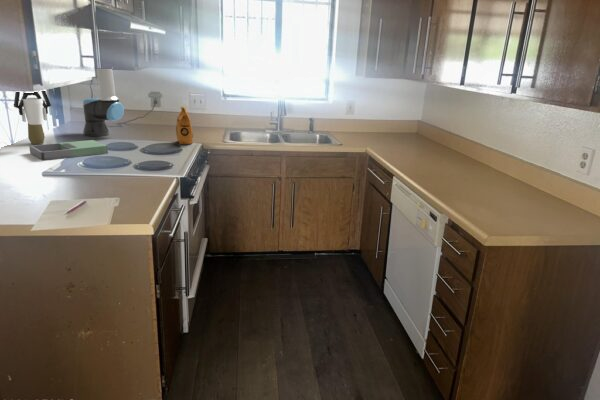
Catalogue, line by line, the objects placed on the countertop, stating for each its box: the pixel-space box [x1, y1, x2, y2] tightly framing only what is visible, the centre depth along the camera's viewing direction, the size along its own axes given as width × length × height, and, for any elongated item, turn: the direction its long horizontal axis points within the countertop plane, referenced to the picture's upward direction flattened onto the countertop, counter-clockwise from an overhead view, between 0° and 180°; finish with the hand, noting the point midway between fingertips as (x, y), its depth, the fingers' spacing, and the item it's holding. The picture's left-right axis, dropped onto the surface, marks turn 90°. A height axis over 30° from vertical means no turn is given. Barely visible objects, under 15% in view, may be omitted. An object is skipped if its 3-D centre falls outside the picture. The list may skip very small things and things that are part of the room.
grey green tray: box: [28, 139, 109, 161], centre depth 226 cm, size 32×19×4 cm, turn 136°
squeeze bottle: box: [27, 123, 46, 145], centre depth 241 cm, size 8×8×18 cm
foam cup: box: [20, 97, 44, 125], centre depth 224 cm, size 10×9×13 cm
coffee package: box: [175, 106, 194, 145], centre depth 265 cm, size 10×12×22 cm
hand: (34, 120), depth 225 cm, fingers closed on foam cup, 9 cm apart
